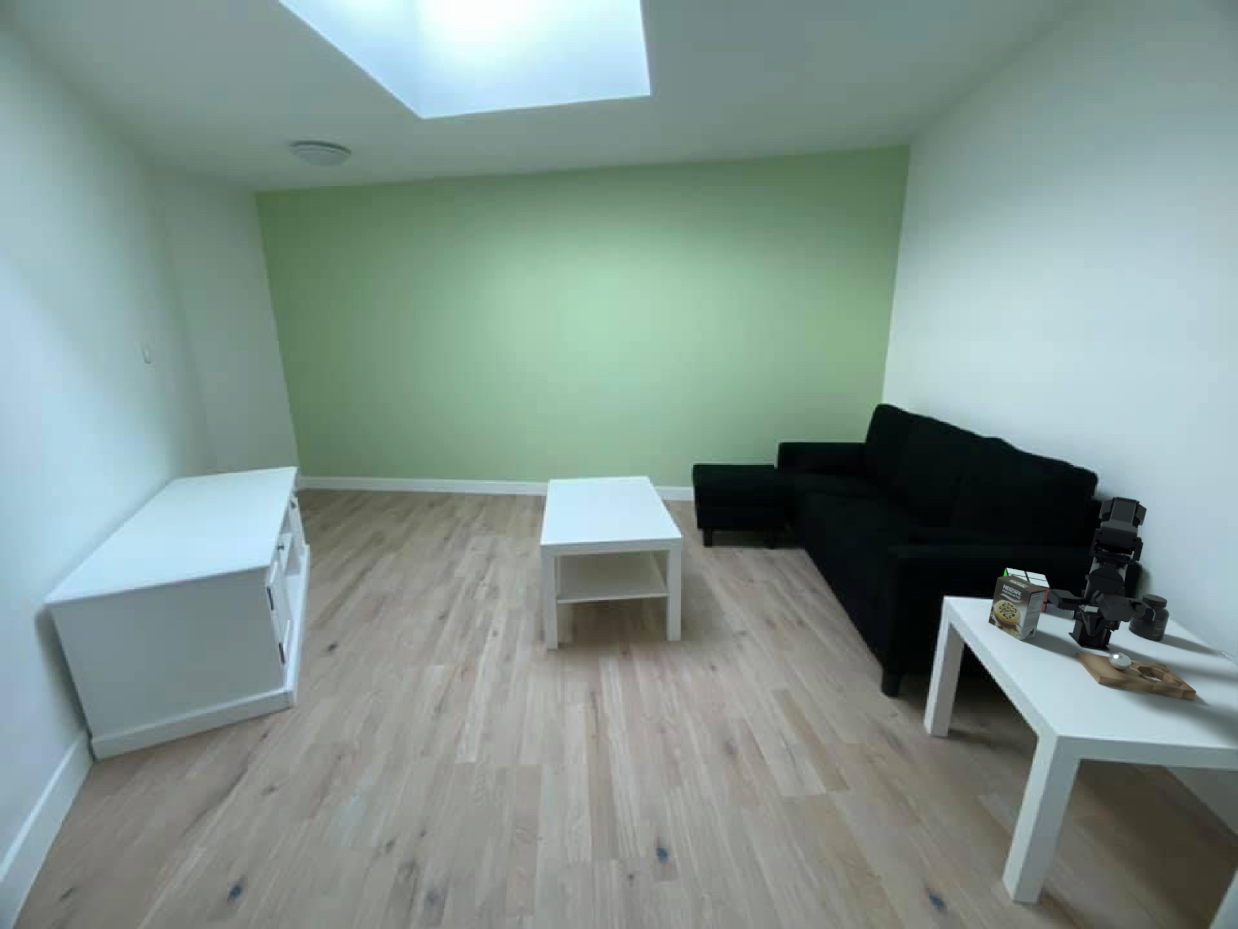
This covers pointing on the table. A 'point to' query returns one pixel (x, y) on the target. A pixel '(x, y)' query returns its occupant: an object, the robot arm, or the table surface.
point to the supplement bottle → (1158, 625)
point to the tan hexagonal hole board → (1137, 676)
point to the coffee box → (1016, 606)
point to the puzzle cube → (1032, 581)
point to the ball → (1120, 661)
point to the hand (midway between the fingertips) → (1090, 635)
